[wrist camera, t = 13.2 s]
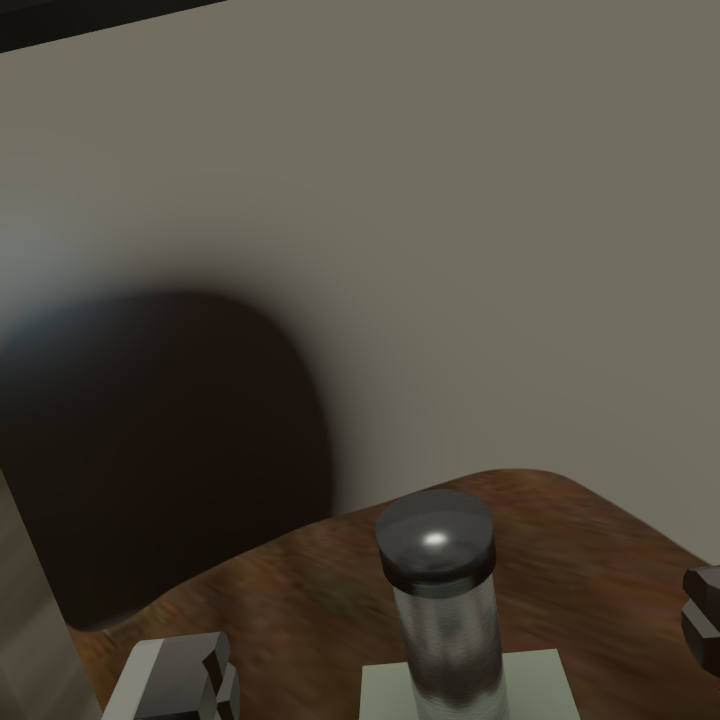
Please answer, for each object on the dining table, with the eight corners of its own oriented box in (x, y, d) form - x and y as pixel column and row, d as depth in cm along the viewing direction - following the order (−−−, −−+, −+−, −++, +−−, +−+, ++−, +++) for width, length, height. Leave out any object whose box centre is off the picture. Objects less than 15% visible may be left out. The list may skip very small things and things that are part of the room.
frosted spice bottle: (421, 808, 27) (372, 564, 23) (418, 711, 32) (377, 496, 28) (532, 801, 27) (501, 550, 22) (510, 703, 31) (482, 483, 27)
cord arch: (82, 985, 23) (-438, 6, 13) (116, 897, 26) (-285, 37, 15) (1061, 959, 19) (1513, -520, 9) (975, 858, 22) (1234, -348, 11)
